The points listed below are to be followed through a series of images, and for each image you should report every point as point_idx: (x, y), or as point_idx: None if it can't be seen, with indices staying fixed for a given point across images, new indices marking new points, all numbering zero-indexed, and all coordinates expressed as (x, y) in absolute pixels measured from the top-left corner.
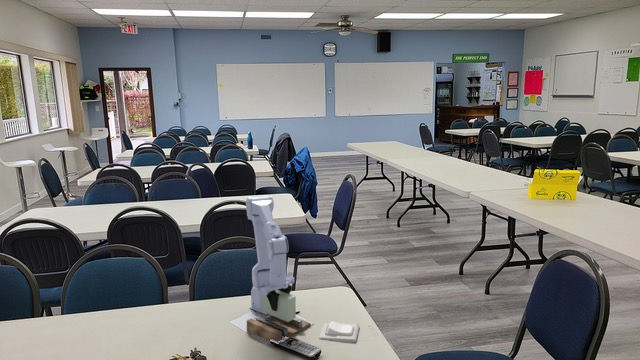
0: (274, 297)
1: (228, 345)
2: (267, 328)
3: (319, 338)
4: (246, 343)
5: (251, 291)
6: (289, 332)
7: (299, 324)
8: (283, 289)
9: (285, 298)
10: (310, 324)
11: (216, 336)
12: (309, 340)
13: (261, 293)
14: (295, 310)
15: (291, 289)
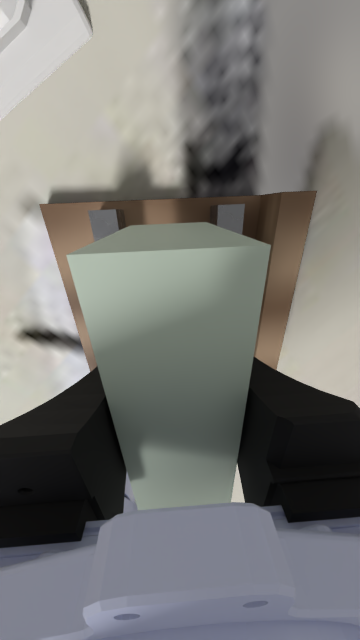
0: (345, 403)
1: (356, 333)
2: (286, 281)
3: (89, 25)
4: (322, 303)
5: (134, 500)
6: (183, 221)
7: (117, 209)
8: (107, 469)
9: (237, 314)
10: (43, 204)
11: (324, 389)
12: (149, 78)
13: (129, 480)
14: (121, 229)
15: (12, 424)
